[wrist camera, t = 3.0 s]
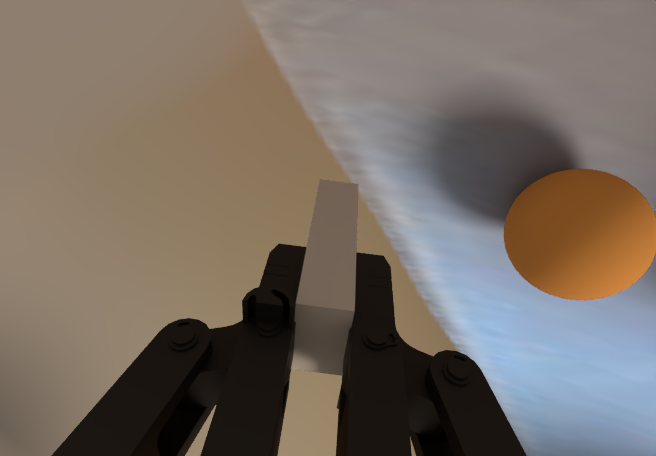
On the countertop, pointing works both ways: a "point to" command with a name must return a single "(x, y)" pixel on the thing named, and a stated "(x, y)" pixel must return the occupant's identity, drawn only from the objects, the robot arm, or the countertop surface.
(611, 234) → the ball
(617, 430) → the countertop surface
